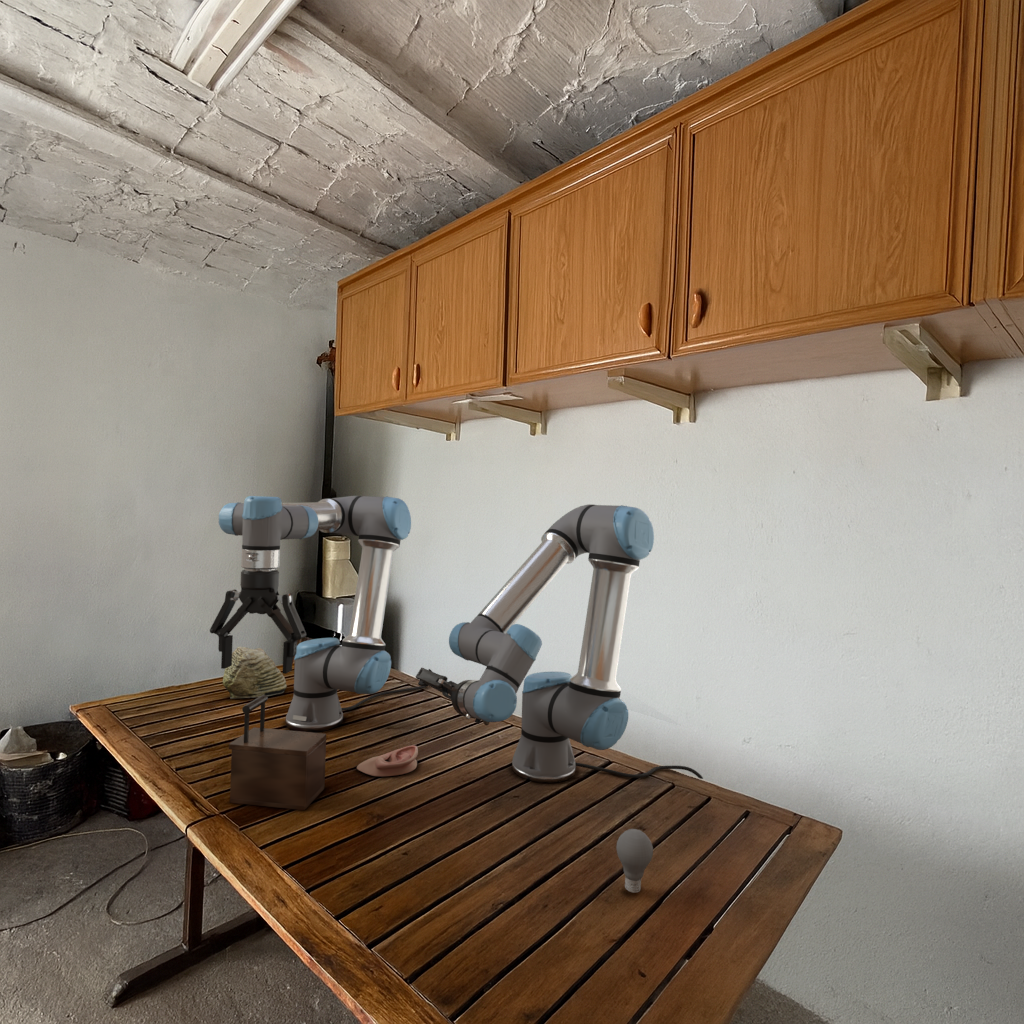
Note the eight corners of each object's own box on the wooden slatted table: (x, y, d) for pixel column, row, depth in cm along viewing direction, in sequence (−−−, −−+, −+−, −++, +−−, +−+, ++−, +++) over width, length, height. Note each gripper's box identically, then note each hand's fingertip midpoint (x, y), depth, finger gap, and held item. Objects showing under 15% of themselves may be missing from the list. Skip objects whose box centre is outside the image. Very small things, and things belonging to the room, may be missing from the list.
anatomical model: (351, 756, 145) (372, 738, 156) (350, 773, 145) (371, 754, 156) (406, 763, 142) (423, 744, 154) (405, 780, 143) (422, 760, 154)
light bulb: (610, 879, 108) (613, 822, 108) (644, 879, 109) (647, 822, 109) (619, 902, 102) (622, 840, 102) (655, 901, 103) (658, 840, 103)
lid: (228, 749, 129) (230, 706, 129) (253, 732, 139) (255, 692, 139) (306, 756, 128) (308, 712, 127) (326, 738, 137) (327, 697, 137)
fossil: (218, 695, 195) (220, 647, 195) (278, 685, 208) (279, 640, 207) (228, 703, 189) (230, 653, 188) (289, 692, 201) (290, 645, 201)
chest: (229, 802, 130) (231, 749, 129) (254, 781, 139) (256, 732, 139) (304, 810, 128) (306, 756, 128) (324, 788, 138) (326, 738, 137)
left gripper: (194, 567, 131) (190, 669, 131) (309, 574, 128) (305, 678, 129) (215, 564, 139) (211, 660, 139) (324, 570, 136) (320, 669, 136)
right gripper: (414, 681, 127) (393, 680, 146) (512, 747, 132) (478, 738, 151) (434, 649, 130) (411, 652, 149) (529, 714, 135) (494, 709, 154)
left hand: (256, 669), depth 134 cm, fingers open, 13 cm apart
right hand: (445, 695), depth 150 cm, fingers open, 13 cm apart
